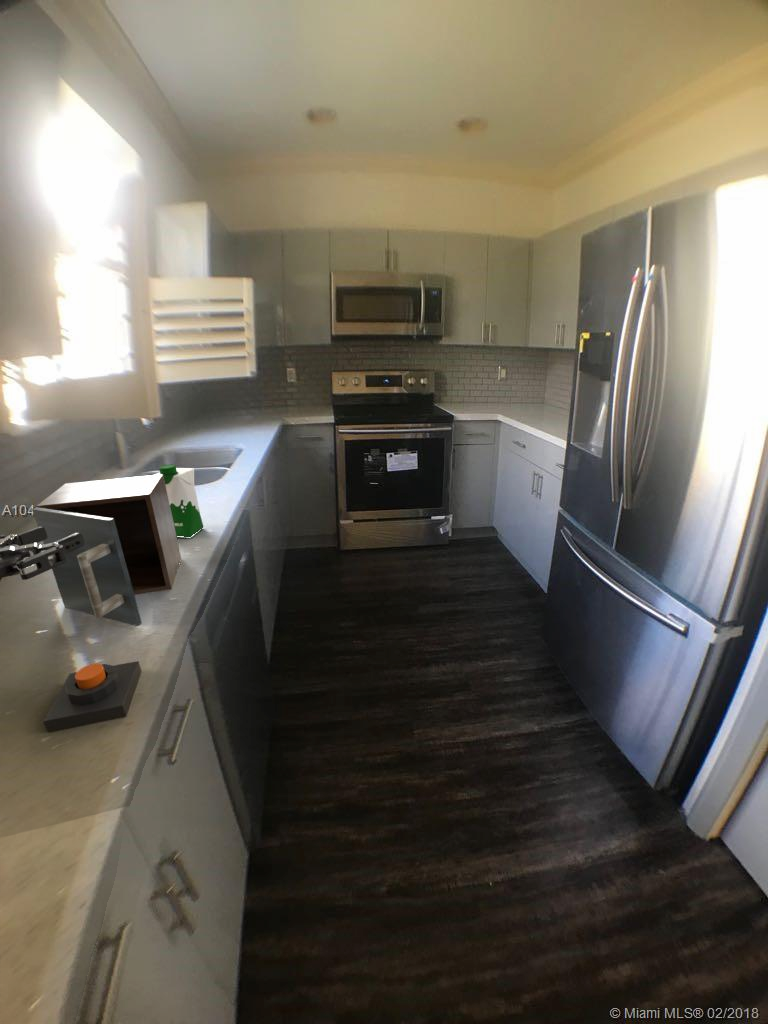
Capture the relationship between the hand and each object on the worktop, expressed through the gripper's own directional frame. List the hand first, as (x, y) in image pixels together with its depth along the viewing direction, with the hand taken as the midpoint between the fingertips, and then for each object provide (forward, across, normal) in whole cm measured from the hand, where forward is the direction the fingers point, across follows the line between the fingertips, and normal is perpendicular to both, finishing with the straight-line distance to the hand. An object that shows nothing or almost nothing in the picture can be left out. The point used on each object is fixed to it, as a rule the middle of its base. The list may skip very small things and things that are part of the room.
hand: (63, 535), depth 72 cm
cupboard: (+20, -16, -22) cm, 34 cm away
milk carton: (+46, -24, -23) cm, 56 cm away
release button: (-9, +11, -19) cm, 23 cm away
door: (+5, -9, -22) cm, 25 cm away
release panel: (-9, +11, -22) cm, 26 cm away
